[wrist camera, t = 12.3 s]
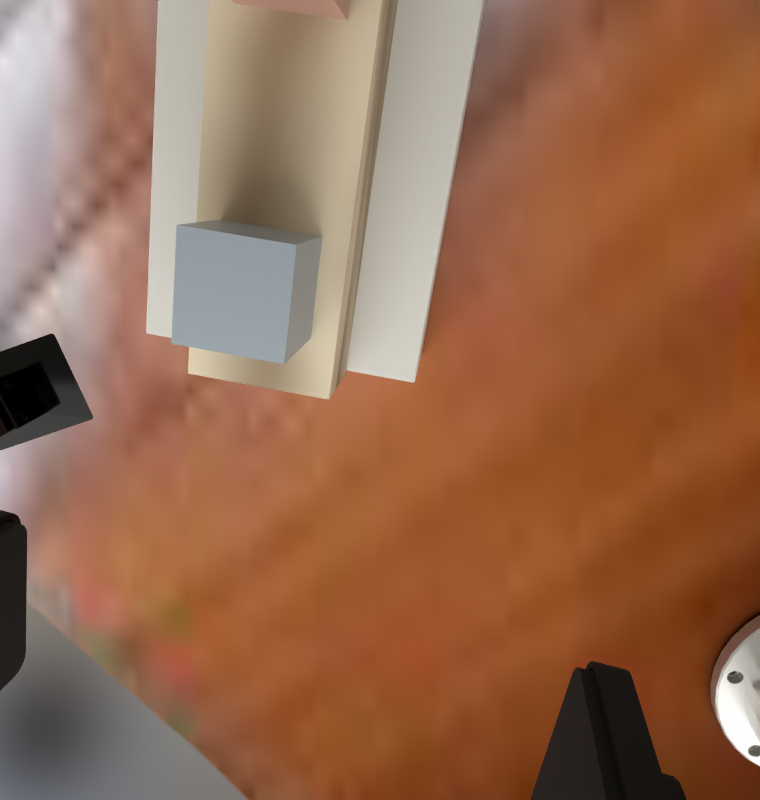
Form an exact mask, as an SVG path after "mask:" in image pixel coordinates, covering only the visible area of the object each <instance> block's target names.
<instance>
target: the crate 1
mask: <svg viewBox="0 0 760 800" xmlns="http://www.w3.org/2000/svg"><path fill="white" fill-rule="evenodd" d="M231 1H232V2H234V3H236V4H243V5H249V6H256V7H262V8H269V9H275V10H282V11H289V12H295V13H302V14H308V15H315V16H321V17H328V18H334V19H341V20H347V21H348V13H349V5H350V0H231Z"/></svg>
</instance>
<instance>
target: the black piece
mask: <svg viewBox="0 0 760 800" xmlns="http://www.w3.org/2000/svg"><path fill="white" fill-rule="evenodd" d="M92 418H93V416H92V413H91V411H90V409H89V407H88V405H87V403H86V401H85V399H84V396H83V394H82V392H81V390H80V388H79V386H78V384H77V382H76V380H75V377H74V375H73V373H72V371H71V369H70V367H69V365H68V363H67V361H66V358H65V356H64V354H63V352H62V350H61V348H60V346H59V344H58V341H57V339H56V337H55V335H54V334H49V335H46V336H43V337H40V338H38V339H35V340H32V341H29V342H26V343H24V344H21V345H18V346H15V347H12V348H10V349H7V350H4V351H1V352H0V450H3V449H6V448H9V447H12V446H15V445H17V444H20V443H23V442H26V441H29V440H32V439H35V438H38V437H41V436H44V435H47V434H50V433H53V432H56V431H59V430H62V429H65V428H67V427H70V426H73V425H76V424H79V423H82V422H85V421H88V420H91V419H92Z"/></svg>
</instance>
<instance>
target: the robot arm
mask: <svg viewBox="0 0 760 800" xmlns="http://www.w3.org/2000/svg"><path fill="white" fill-rule="evenodd" d="M26 579H27V530H26V528H25V526H23V525H21V522H20V519H19V517H18V516H17V515H15V514H13V513H9V512H5V511H2V510H0V690H1V689H2V688H3V687H4V686H5V685H6V684H7V683H8V682H10V681H11V680H12V678H14V676H15V675H16V674H17V673H18V671H19V669H20V668H21V666H22V664H23V662H24V658H25V653H26ZM710 688H711V702H712V706H713V709H714V713H715V716H716V718H717V720H718V722H719V724H720V726H721V728H722V730H723V732H724V734H725V736H726V737H727V738H728V740H729V741H730V742H731V744H732V745H733V746H734V748H735V749H736V750H738V751H739V752H740V753H741V754H742V755H743V756H744V757H745V758H747V759H748V760H750V761H751V762H753V763H755V764H756V765H758V766H760V615H759V616H758V617H756V618H754V619H753V620H751V621H750V622H748V623H747V624H746V625H745V626H744V627H743V628H742V629H740V630H739V631H738V632H737V633H736V634H735V635H734V636H733V637H732V638H731V639H730V641H729V642H728V643H727V645H726V646H725V647H724V649H723V650H722V651H721V653H720V656H719V658H718V660H717V662H716V664H715V666H714V669H713V674H712V679H711V683H710ZM531 800H686V797H685V794H684V792H683V789H682V787H681V785H680V783H679V781H678V780H677V779H676V778H675V777H674V776H670V775H666V774H663V773H661V769H660V766H659V763H658V760H657V757H656V753H655V750H654V747H653V744H652V741H651V737H650V734H649V731H648V728H647V724H646V721H645V718H644V715H643V712H642V708H641V705H640V702H639V699H638V696H637V692H636V689H635V686H634V683H633V679H632V676H631V674H630V672H629V671H627V670H625V669H621V668H617V667H613V666H609V665H606V664H602V663H598V662H594V661H591V662H589V664H588V665H587V667H586V669H582V668H578V667H577V668H575V670H574V672H573V674H572V677H571V680H570V683H569V686H568V689H567V692H566V695H565V698H564V701H563V704H562V707H561V710H560V713H559V716H558V719H557V721H556V724H555V727H554V730H553V733H552V736H551V739H550V742H549V745H548V748H547V751H546V754H545V757H544V760H543V763H542V766H541V769H540V772H539V775H538V778H537V781H536V784H535V787H534V790H533V793H532V797H531Z"/></svg>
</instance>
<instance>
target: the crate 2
mask: <svg viewBox="0 0 760 800" xmlns="http://www.w3.org/2000/svg"><path fill="white" fill-rule="evenodd" d="M322 238H323V236H317V235H311V234H305V233H299V232H293V231H287V230H281V229H275V228H269V227H263V226H257V225H251V224H245V223H239V222H233V221H227V220H221V219H220V220H212V221H204V222H196V223H187V224H179V225H177V227H176V249H175V272H174V294H173V317H172V339H171V344H176V345H181V346H187V347H192V348H198V349H203V350H209V351H214V352H220V353H225V354H231V355H237V356H242V357H248V358H253V359H259V360H264V361H270V362H275V363H281V364H285V363H286V362H287V361H288V360H289V359H290V358H291V357H292V356H293V355H294V354H295V353H296V352H297V351H298V350H299V349H300V348H301V347H302V346H303V345H304V344H306V343H307V342H308V341H309V340H310V339H311V332H312V323H313V314H314V306H315V297H316V289H317V280H318V272H319V263H320V255H321V246H322Z"/></svg>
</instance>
